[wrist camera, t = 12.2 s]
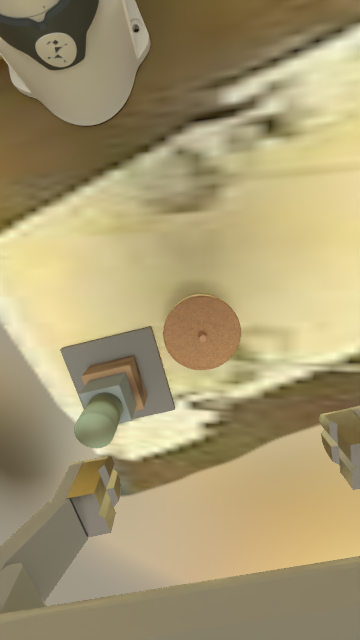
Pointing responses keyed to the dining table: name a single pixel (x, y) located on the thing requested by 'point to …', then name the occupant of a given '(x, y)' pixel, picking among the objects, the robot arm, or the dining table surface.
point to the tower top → (112, 392)
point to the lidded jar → (201, 332)
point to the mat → (120, 347)
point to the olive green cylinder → (99, 420)
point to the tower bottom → (118, 367)
